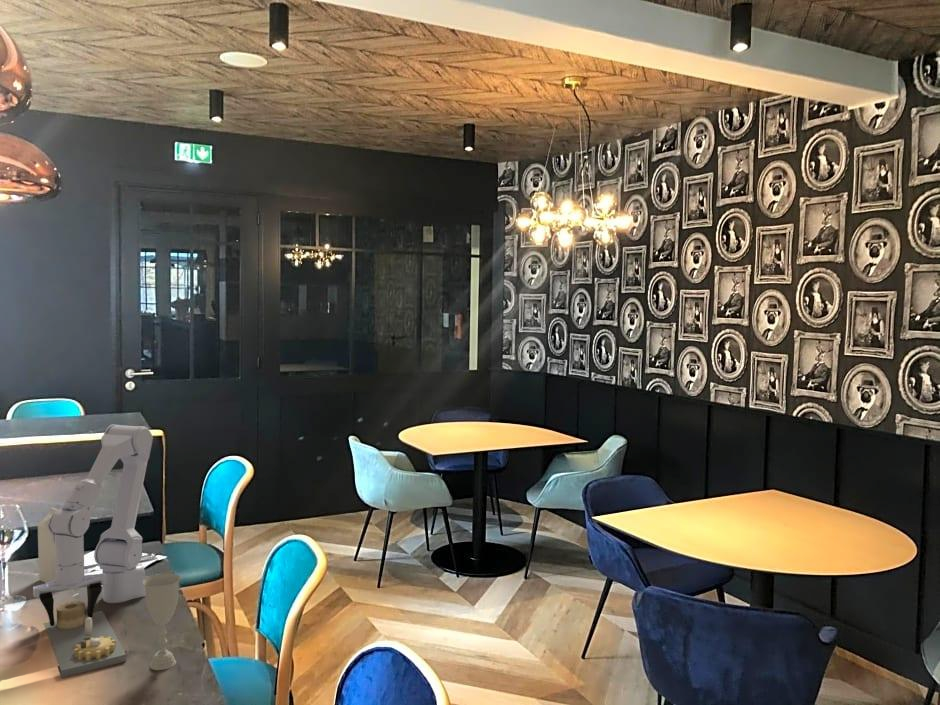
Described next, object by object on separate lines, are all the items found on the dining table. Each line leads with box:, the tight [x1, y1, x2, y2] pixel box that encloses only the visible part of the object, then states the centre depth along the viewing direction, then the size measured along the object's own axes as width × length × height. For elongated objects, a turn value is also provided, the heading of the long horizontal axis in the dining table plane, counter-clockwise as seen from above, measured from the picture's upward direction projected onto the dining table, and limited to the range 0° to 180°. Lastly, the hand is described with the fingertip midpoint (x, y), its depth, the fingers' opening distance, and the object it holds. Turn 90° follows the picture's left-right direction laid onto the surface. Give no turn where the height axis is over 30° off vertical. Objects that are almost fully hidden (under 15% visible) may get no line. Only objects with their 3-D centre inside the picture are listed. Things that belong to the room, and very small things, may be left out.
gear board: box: [44, 610, 127, 679], centre depth 162 cm, size 12×26×6 cm, turn 36°
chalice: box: [143, 573, 182, 671], centre depth 154 cm, size 7×7×18 cm
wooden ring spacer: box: [56, 600, 86, 629], centre depth 169 cm, size 6×6×4 cm
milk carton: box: [37, 506, 59, 584], centre depth 198 cm, size 7×7×19 cm
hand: (71, 620), depth 169 cm, fingers open, 7 cm apart
